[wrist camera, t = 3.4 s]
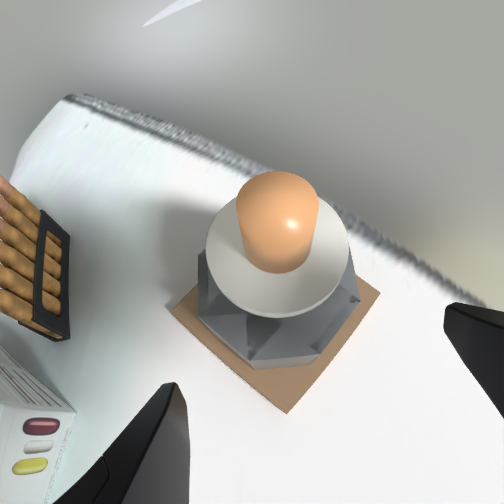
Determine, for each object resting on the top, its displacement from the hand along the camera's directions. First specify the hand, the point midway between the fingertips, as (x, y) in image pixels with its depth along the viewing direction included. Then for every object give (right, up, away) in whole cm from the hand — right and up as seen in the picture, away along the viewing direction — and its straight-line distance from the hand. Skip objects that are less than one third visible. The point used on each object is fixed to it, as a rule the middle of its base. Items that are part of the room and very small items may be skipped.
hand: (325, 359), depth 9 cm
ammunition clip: (-20, 0, +17) cm, 26 cm away
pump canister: (0, -1, +14) cm, 14 cm away
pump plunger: (-1, +1, +10) cm, 10 cm away
